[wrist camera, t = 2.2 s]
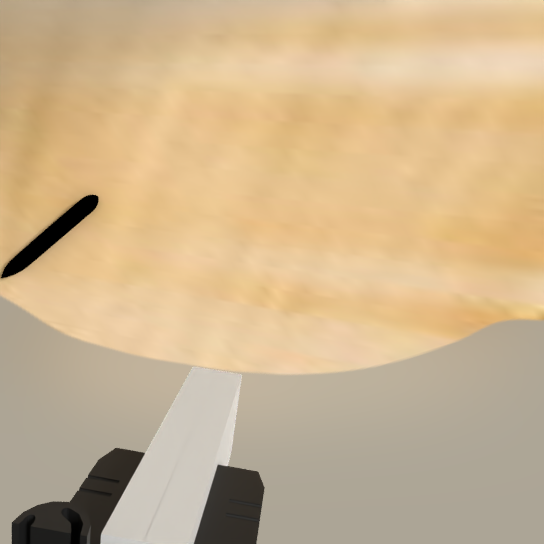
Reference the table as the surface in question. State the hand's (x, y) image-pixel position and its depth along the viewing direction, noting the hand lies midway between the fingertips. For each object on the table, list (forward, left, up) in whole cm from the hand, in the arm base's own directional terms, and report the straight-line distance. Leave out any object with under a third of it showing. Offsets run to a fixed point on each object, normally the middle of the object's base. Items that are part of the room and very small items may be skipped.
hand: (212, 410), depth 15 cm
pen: (+5, -24, -36) cm, 43 cm away
